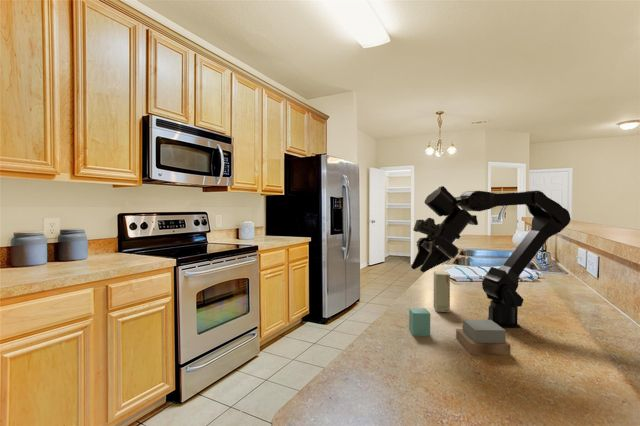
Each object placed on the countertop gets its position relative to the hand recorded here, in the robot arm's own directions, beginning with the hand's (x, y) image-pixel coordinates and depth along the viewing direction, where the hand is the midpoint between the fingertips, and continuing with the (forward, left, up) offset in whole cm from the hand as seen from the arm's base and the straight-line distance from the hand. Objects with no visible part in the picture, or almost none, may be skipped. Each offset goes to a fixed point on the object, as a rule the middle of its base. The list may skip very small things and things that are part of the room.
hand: (416, 269), depth 92 cm
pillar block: (0, +4, -16) cm, 17 cm away
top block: (-13, +12, -14) cm, 23 cm away
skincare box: (-12, -16, -16) cm, 26 cm away
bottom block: (-13, +12, -17) cm, 24 cm away
